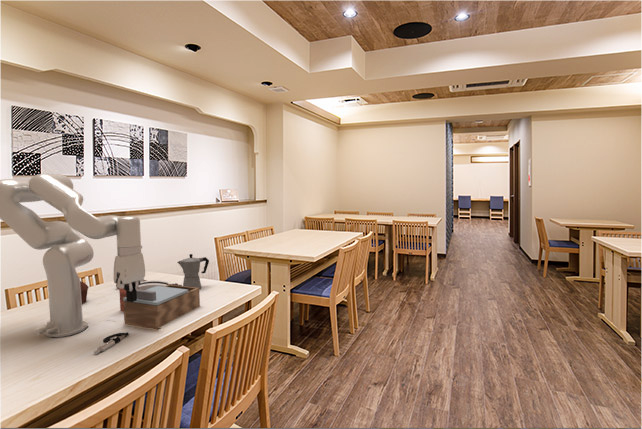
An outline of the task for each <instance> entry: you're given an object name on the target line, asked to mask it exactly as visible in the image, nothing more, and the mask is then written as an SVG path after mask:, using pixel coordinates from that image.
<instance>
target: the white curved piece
mask: <svg viewBox="0 0 642 429" xmlns="http://www.w3.org/2000/svg"><path fill="white" fill-rule="evenodd" d="M169 284H170V283H169V281H164V280H157V279H155V280H147V281H144V282H141V283H140V284H139V290H147V289H150V288H152V287H155V286H162V287H163V286H166V285H169Z"/></svg>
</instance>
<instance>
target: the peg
mask: <svg viewBox="0 0 642 429" xmlns="http://www.w3.org/2000/svg"><path fill="white" fill-rule="evenodd" d="M118 290H119V309H120V312H124V305H123V298H125V297H126V291H125V290H124V289H123V288H122V289H120V288H118ZM138 290H139V285H138Z"/></svg>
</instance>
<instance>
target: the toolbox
mask: <svg viewBox="0 0 642 429" xmlns="http://www.w3.org/2000/svg"><path fill="white" fill-rule="evenodd" d="M170 284H171V283H169V285H166V286H163V287H171V288H179V289H188V292H187V293H185V294H182V295H180V296H178V297H175V298H173V299H171V300H169V301H166V302H164V303H162V304H159V305H150V304H143V303H136V302H129V301H123V305H124V311H123V322H124V325H126V326H132V327H138V328H144V329H150V330H154V331H155V330H156V331H158V330H161V329H162V326H164V325H166V324H168V323H169V322H172V321H174V320H175V319H177V318H179V317H180V318H181V316H184V315H186V314H188V313H189V312H192V311H193V310H195V309H197V308H199V307H200V306H201V302H200V290H199V288H196V287H187V286H183V285H182V286H178V285H179V284H178V285H170Z"/></svg>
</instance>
